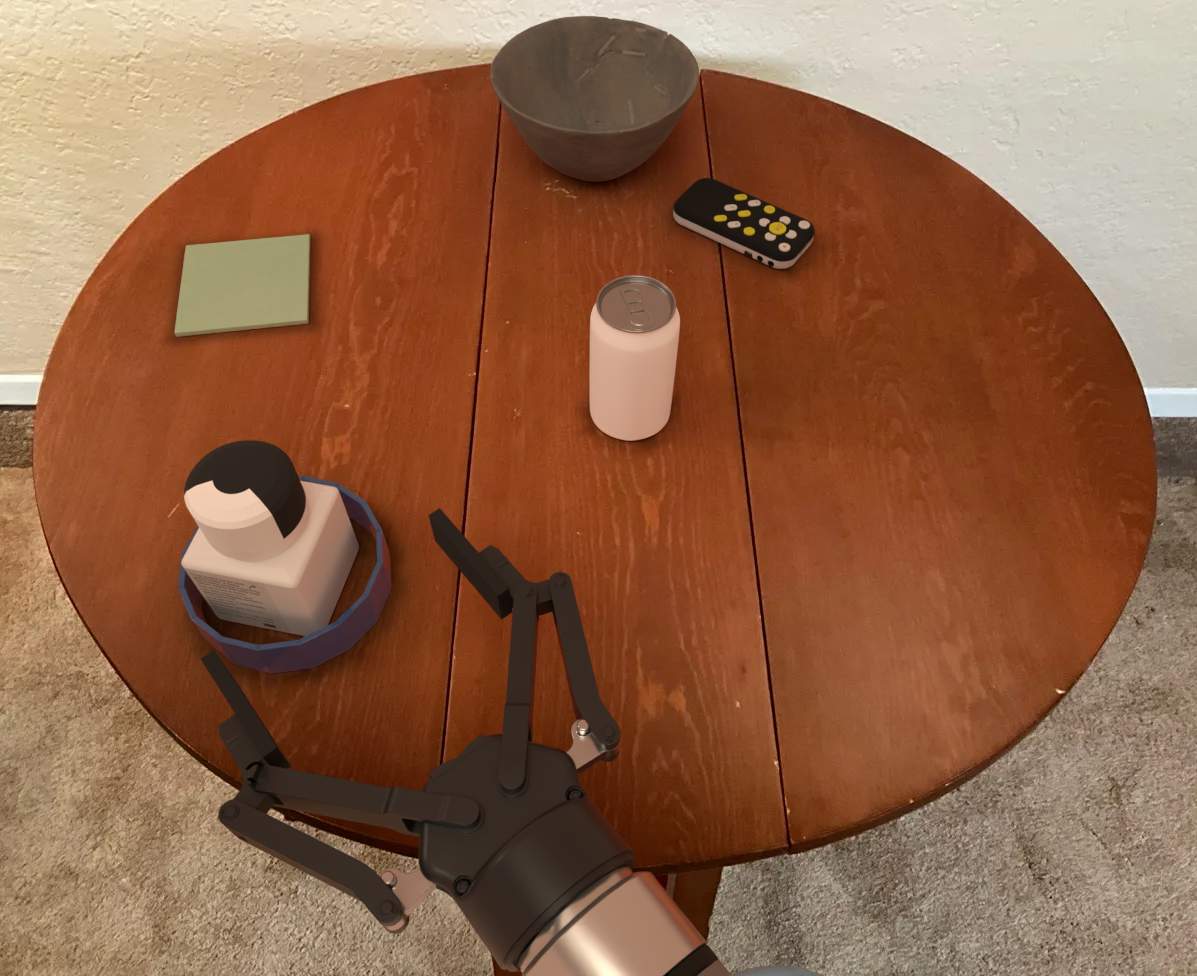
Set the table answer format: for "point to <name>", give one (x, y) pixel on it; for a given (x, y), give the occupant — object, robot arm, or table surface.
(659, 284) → the can
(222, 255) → the mat
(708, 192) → the remote control
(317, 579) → the container
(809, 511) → the table surface
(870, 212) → the table surface
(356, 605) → the ring
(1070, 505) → the table surface
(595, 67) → the bowl
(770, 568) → the table surface
